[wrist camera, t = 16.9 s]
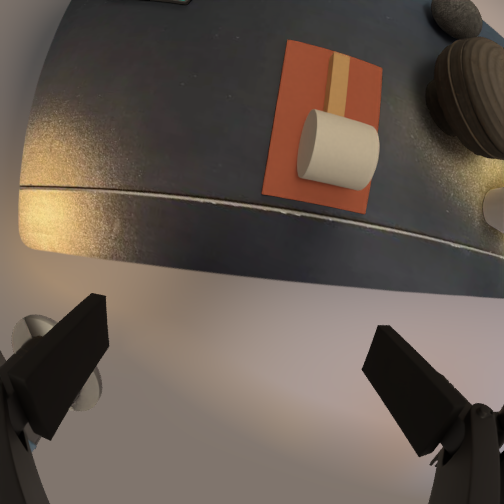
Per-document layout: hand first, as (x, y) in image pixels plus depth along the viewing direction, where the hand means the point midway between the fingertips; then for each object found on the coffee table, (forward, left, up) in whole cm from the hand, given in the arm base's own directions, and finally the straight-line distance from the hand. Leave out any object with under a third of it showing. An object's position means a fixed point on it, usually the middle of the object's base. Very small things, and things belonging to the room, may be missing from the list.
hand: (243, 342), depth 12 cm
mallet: (+14, +13, -24) cm, 31 cm away
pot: (+37, +15, -25) cm, 47 cm away
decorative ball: (+44, +33, -25) cm, 60 cm away
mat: (+14, +13, -24) cm, 31 cm away
